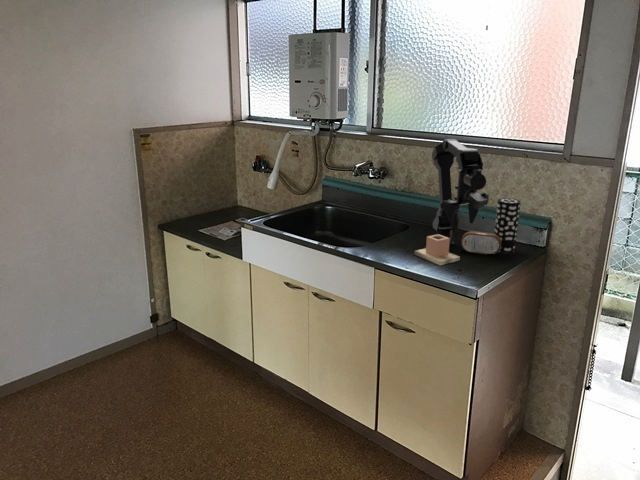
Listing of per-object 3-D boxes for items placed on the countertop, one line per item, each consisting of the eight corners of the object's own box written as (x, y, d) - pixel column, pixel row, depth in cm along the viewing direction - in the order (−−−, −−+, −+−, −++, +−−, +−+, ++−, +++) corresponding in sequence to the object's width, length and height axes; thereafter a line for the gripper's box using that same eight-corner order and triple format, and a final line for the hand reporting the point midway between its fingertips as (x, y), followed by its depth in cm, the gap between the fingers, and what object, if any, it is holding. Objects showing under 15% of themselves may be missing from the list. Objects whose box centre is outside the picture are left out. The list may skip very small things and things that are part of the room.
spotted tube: (508, 254, 201) (515, 204, 195) (488, 250, 207) (494, 200, 200) (518, 249, 207) (524, 200, 201) (498, 245, 212) (503, 197, 206)
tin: (500, 254, 202) (502, 233, 200) (499, 256, 200) (502, 235, 197) (460, 249, 207) (462, 229, 205) (459, 252, 205) (461, 231, 202)
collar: (437, 250, 202) (438, 234, 200) (448, 254, 197) (449, 238, 195) (425, 252, 199) (426, 236, 197) (436, 257, 194) (437, 240, 192)
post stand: (433, 249, 207) (435, 229, 204) (459, 260, 196) (461, 238, 193) (414, 254, 202) (415, 233, 199) (439, 265, 191) (441, 243, 188)
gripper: (463, 191, 178) (460, 234, 183) (501, 185, 187) (496, 226, 192) (440, 185, 187) (437, 227, 192) (477, 179, 196) (474, 219, 201)
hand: (462, 225), depth 194 cm, fingers open, 9 cm apart
